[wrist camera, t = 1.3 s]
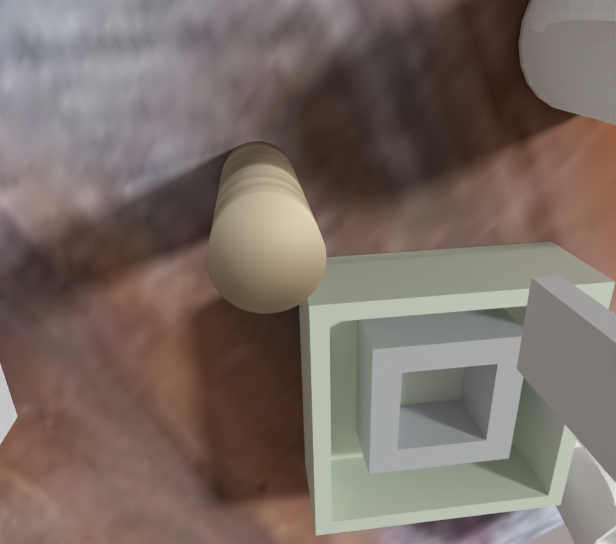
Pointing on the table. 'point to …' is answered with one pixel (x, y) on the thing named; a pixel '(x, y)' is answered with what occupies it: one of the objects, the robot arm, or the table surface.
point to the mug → (571, 55)
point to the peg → (263, 233)
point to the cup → (589, 500)
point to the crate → (430, 386)
